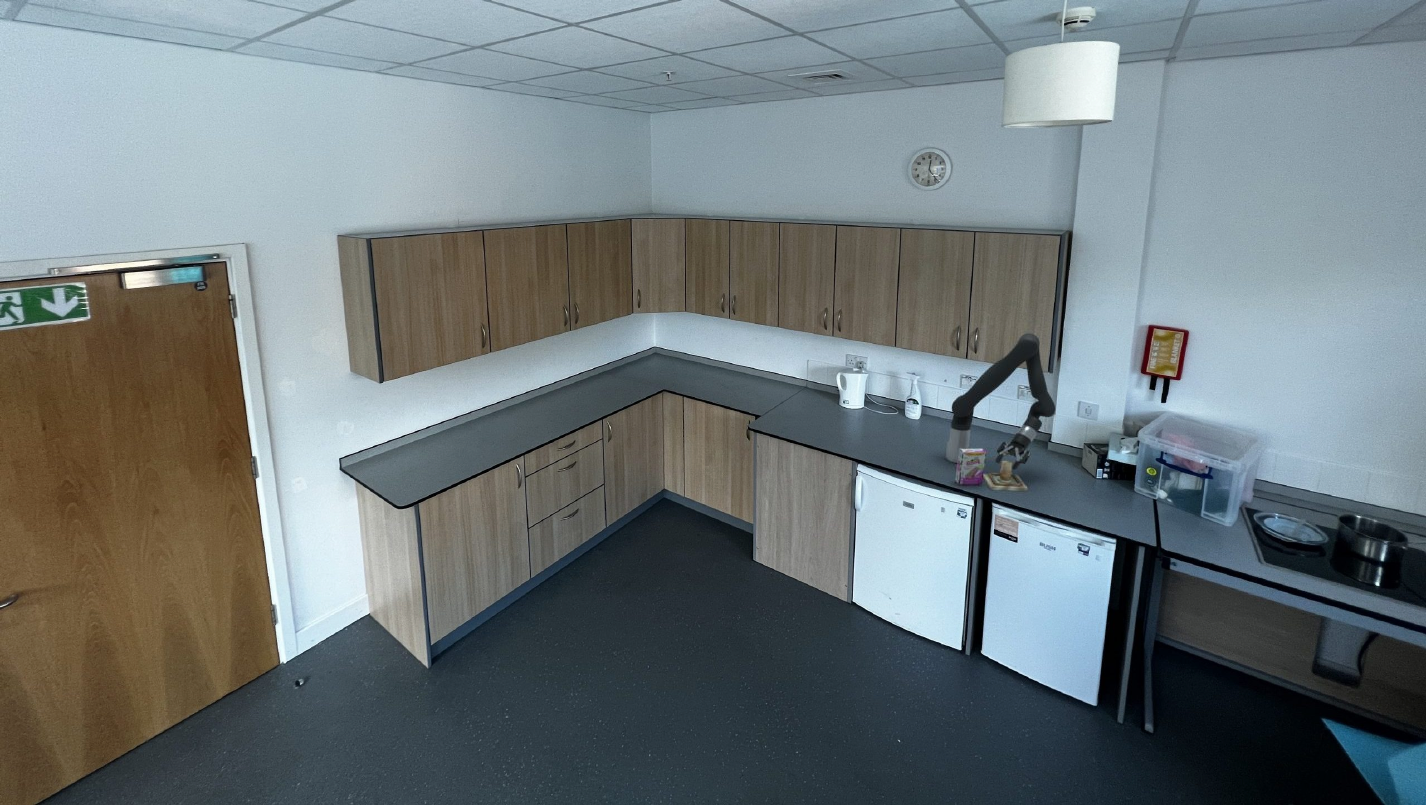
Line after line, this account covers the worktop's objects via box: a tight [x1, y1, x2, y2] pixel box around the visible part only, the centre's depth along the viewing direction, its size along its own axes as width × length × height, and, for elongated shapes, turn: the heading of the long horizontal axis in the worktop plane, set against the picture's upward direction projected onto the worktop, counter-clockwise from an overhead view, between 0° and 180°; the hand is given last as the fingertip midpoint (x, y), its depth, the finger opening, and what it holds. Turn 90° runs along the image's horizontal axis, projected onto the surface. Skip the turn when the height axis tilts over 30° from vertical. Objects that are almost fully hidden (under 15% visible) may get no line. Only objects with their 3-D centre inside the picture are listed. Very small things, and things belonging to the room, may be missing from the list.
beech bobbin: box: [997, 460, 1013, 483], centre depth 326 cm, size 6×6×9 cm
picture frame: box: [983, 472, 1028, 492], centre depth 328 cm, size 16×14×3 cm
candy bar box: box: [954, 448, 987, 486], centre depth 327 cm, size 11×5×16 cm, turn 92°
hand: (1004, 465), depth 325 cm, fingers open, 8 cm apart
